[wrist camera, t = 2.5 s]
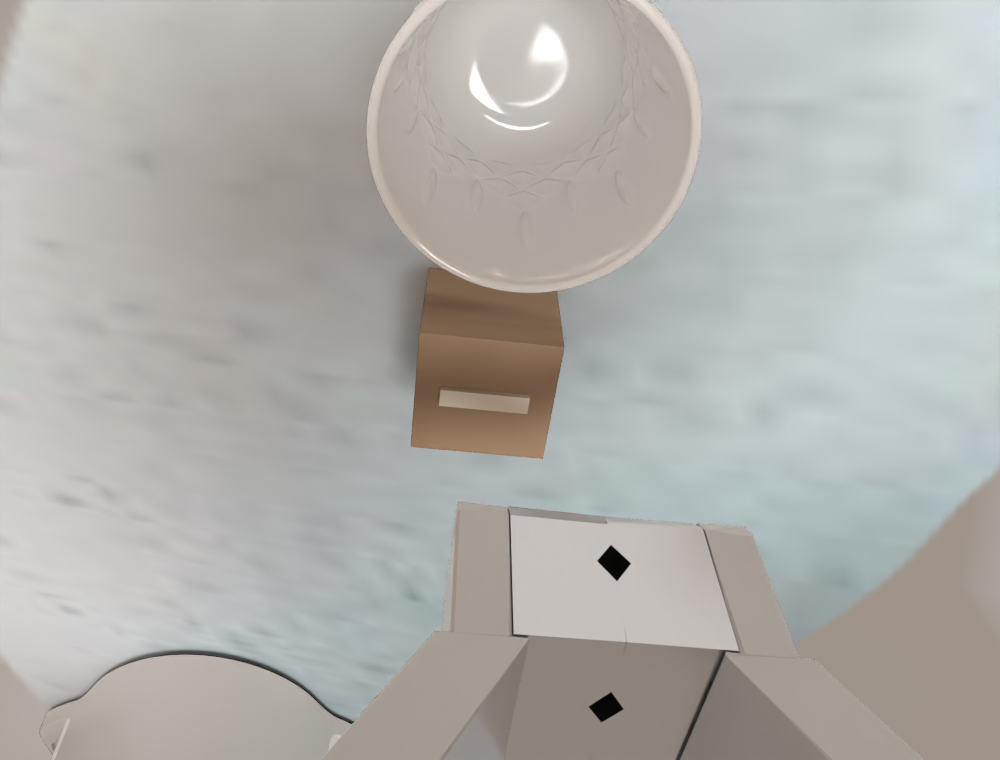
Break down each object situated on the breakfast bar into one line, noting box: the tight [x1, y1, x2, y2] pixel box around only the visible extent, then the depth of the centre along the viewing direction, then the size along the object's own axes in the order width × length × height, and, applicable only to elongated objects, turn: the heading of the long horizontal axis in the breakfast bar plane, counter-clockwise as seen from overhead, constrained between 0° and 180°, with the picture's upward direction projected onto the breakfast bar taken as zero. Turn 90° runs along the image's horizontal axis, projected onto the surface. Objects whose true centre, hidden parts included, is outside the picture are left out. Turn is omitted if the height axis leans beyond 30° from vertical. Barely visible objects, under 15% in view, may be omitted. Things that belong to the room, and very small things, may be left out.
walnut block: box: [411, 268, 564, 459], centre depth 32 cm, size 5×5×5 cm
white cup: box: [367, 0, 702, 293], centre depth 24 cm, size 8×8×10 cm
